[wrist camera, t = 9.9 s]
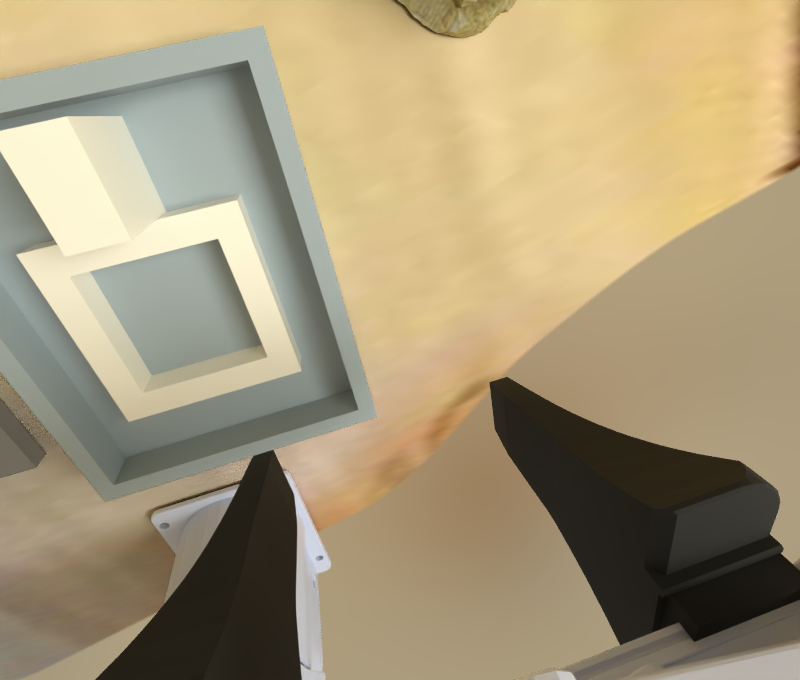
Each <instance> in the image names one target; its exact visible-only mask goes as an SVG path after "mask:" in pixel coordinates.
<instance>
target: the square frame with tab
mask: <svg viewBox="0 0 800 680" xmlns="http://www.w3.org/2000/svg"><path fill="white" fill-rule="evenodd" d="M0 152H1V153H2V155H3V157H4V158H5V160H6V162H7V163H8V165H9V166H10V168H11V170H12V171H13V173H14V175H15V176H16V178H17V179H18V181H19V183H20V184H21V186H22V188H23V189H24V191H25V192H26V194H27V196H28V197H29V199H30V201H31V202H32V204H33V205H34V207H35V209H36V210H37V212H38V214H39V215H40V217H41V218H42V220H43V222H44V223H45V225H46V227H47V228H48V230H49V231H50V233H51V235H52V236H53V238H54V240H51V241H47V242H43V243H39V244H36V245H34V246H32V247H30V248H28V249H26V250H24V251H22V252H20V253H18V254H17V257H18V258H19V260H20V261H21V263H22V264H23V266H24V267H25V269H26V270H27V272H28V273H29V275H30V276H31V278H32V279H33V281H34V282H35V284H36V285H37V287H38V288H39V290H40V291H41V293H42V294H43V296H44V297H45V299H46V300H47V301H48V303H49V304H50V306H51V307H52V309H53V310H54V312H55V313H56V315H57V316H58V318H59V319H60V321H61V322H62V324H63V325H64V327H65V328H66V330H67V331H68V333H69V334H70V336H71V337H72V339H73V340H74V342H75V343H76V345H77V346H78V348H79V349H80V350H81V352H82V353H83V355H84V356H85V358H86V359H87V361H88V362H89V364H90V365H91V367H92V368H93V370H94V371H95V373H96V374H97V376H98V377H99V379H100V380H101V382H102V383H103V385H104V386H105V388H106V389H107V391H108V392H109V394H110V395H111V397H112V398H113V399H114V401H115V402H116V404H117V405H118V407H119V408H120V410H121V411H122V413H123V414H124V416H125V417H126V419H127V420H128V422H130V421H134V420H137V419H140V418H144V417H147V416H151V415H154V414H157V413H161V412H164V411H168V410H171V409H174V408H178V407H181V406H185V405H188V404H191V403H195V402H198V401H202V400H205V399H209V398H212V397H215V396H219V395H222V394H226V393H229V392H232V391H236V390H239V389H243V388H246V387H249V386H253V385H256V384H260V383H263V382H266V381H270V380H273V379H277V378H280V377H283V376H287V375H290V374H294V373H297V372H300V371H302V368H301V355H300V352H299V350H298V347H297V344H296V341H295V339H294V336H293V333H292V331H291V328H290V325H289V323H288V320H287V317H286V315H285V312H284V309H283V307H282V304H281V301H280V299H279V296H278V293H277V290H276V288H275V285H274V282H273V280H272V277H271V274H270V272H269V269H268V266H267V264H266V261H265V258H264V256H263V253H262V250H261V247H260V245H259V242H258V239H257V237H256V234H255V231H254V229H253V226H252V223H251V221H250V218H249V215H248V213H247V210H246V207H245V204H244V202H243V199H242V196H241V194H238V195H234V196H230V197H226V198H222V199H218V200H214V201H210V202H205V203H201V204H197V205H193V206H189V207H185V208H181V209H177V210H173V211H169V212H166V210H165V208H164V206H163V204H162V201H161V199H160V197H159V195H158V193H157V191H156V188H155V186H154V184H153V182H152V180H151V178H150V176H149V173H148V171H147V169H146V167H145V165H144V163H143V161H142V158H141V156H140V154H139V152H138V150H137V148H136V146H135V143H134V141H133V139H132V137H131V135H130V133H129V131H128V128H127V126H126V124H125V122H124V120H123V118H122V116H66V117H61V118H57V119H52V120H48V121H43V122H38V123H34V124H29V125H25V126H20V127H15V128H11V129H6V130H2V131H0ZM215 239H218V240H219V242H220V245H221V247H222V249H223V252H224V254H225V256H226V259H227V261H228V264H229V266H230V268H231V271H232V273H233V276H234V278H235V280H236V283H237V285H238V287H239V290H240V292H241V295H242V297H243V299H244V302H245V304H246V307H247V309H248V311H249V314H250V316H251V319H252V321H253V323H254V326H255V328H256V330H257V333H258V335H259V338H260V340H261V342H262V344H261V345H258V346H254V347H251V348H247V349H243V350H240V351H236V352H233V353H229V354H226V355H222V356H219V357H215V358H212V359H208V360H205V361H201V362H198V363H194V364H191V365H187V366H184V367H180V368H177V369H173V370H170V371H166V372H163V373H159V374H156V375H151V373H150V372H149V370H148V368H147V367H146V365H145V363H144V362H143V360H142V358H141V357H140V355H139V353H138V352H137V350H136V348H135V346H134V345H133V343H132V341H131V340H130V338H129V336H128V335H127V333H126V331H125V330H124V328H123V326H122V325H121V323H120V321H119V320H118V318H117V316H116V315H115V313H114V311H113V310H112V308H111V306H110V305H109V303H108V301H107V299H106V298H105V296H104V294H103V293H102V291H101V289H100V288H99V286H98V284H97V283H96V281H95V279H94V278H93V276H92V274H91V273H90V271H94V270H97V269H101V268H105V267H109V266H113V265H117V264H121V263H125V262H129V261H133V260H137V259H141V258H144V257H148V256H152V255H156V254H160V253H164V252H168V251H172V250H176V249H180V248H184V247H187V246H191V245H195V244H199V243H203V242H207V241H211V240H215Z"/></svg>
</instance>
